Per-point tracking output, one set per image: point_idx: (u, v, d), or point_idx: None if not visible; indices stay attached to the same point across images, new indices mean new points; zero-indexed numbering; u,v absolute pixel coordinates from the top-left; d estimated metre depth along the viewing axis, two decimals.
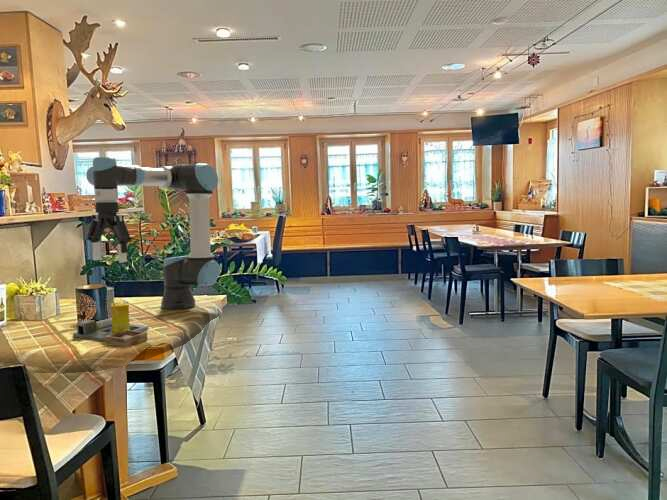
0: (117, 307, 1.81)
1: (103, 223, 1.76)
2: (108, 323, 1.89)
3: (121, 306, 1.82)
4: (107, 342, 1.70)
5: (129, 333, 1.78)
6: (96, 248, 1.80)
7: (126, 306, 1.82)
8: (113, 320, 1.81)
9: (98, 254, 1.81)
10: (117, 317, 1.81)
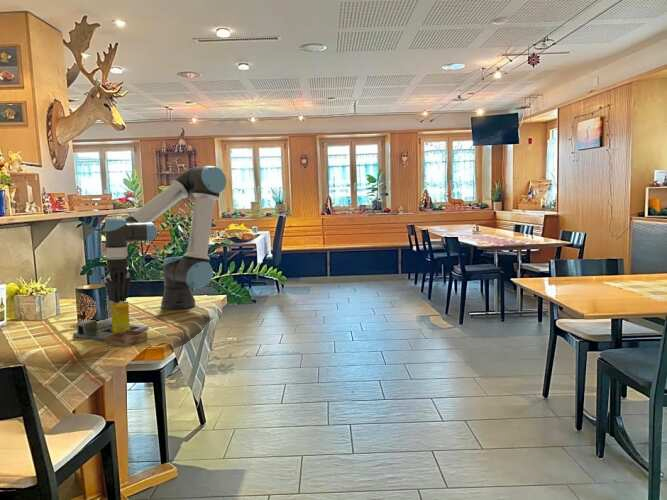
0: (117, 307, 1.81)
1: None
2: (106, 324, 1.88)
3: (121, 306, 1.82)
4: (107, 342, 1.70)
5: (129, 333, 1.78)
6: None
7: (126, 306, 1.82)
8: (113, 320, 1.81)
9: None
10: (117, 317, 1.81)
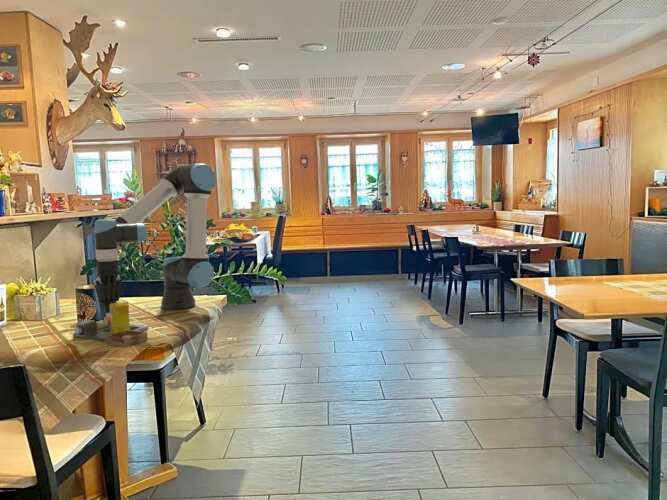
0: (117, 307, 1.81)
1: None
2: None
3: (121, 306, 1.82)
4: (107, 342, 1.70)
5: (129, 333, 1.78)
6: None
7: (126, 306, 1.82)
8: (113, 320, 1.81)
9: None
10: (117, 317, 1.81)
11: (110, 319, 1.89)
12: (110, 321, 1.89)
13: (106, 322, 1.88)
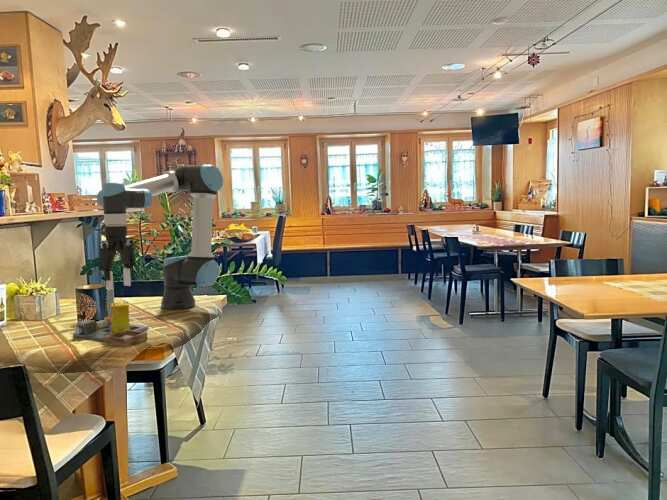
0: (117, 307, 1.81)
1: None
2: None
3: (121, 306, 1.82)
4: (107, 342, 1.70)
5: (129, 333, 1.78)
6: (125, 274, 1.86)
7: (126, 306, 1.82)
8: (113, 320, 1.81)
9: (126, 280, 1.86)
10: (117, 317, 1.81)
11: (110, 319, 1.89)
12: (110, 321, 1.89)
13: (106, 322, 1.88)
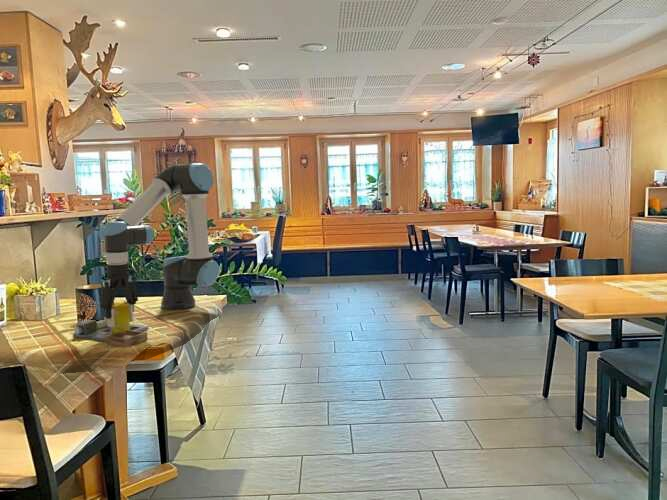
0: (117, 307, 1.81)
1: None
2: None
3: (121, 306, 1.82)
4: (107, 342, 1.70)
5: (129, 333, 1.78)
6: None
7: (126, 306, 1.82)
8: None
9: (129, 316, 1.88)
10: (117, 317, 1.81)
11: None
12: None
13: (106, 322, 1.88)
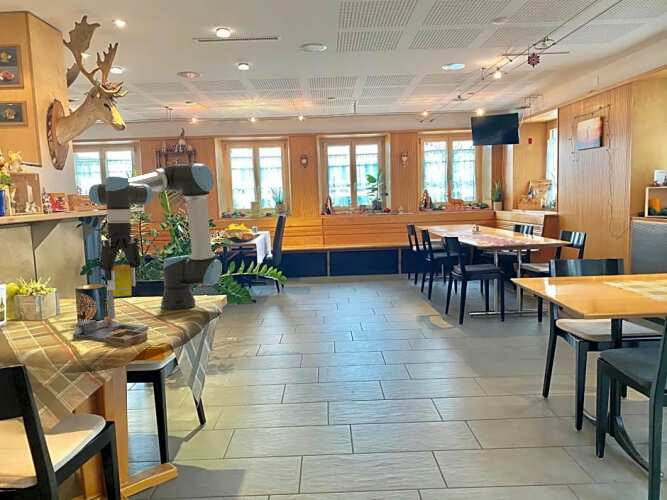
0: (118, 268, 1.69)
1: None
2: None
3: (122, 267, 1.69)
4: (107, 342, 1.70)
5: (129, 333, 1.78)
6: None
7: (128, 268, 1.70)
8: None
9: (131, 280, 1.75)
10: (117, 279, 1.69)
11: (110, 319, 1.89)
12: (110, 321, 1.89)
13: (106, 322, 1.88)
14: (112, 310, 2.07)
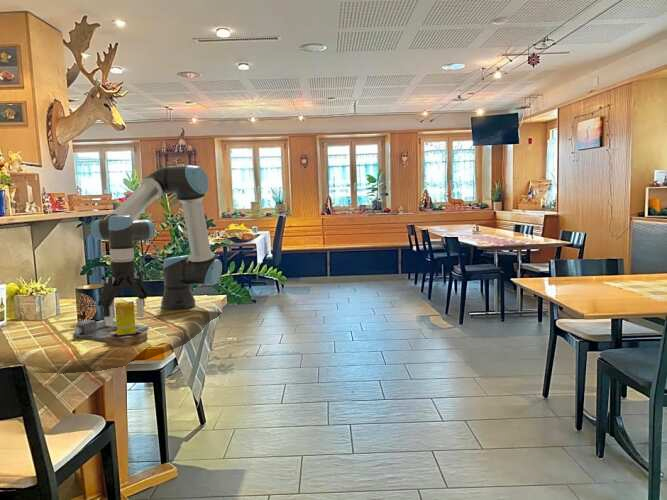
0: (122, 307, 1.69)
1: None
2: None
3: (126, 306, 1.70)
4: (107, 342, 1.70)
5: None
6: (138, 304, 1.78)
7: (132, 306, 1.70)
8: (118, 321, 1.69)
9: (140, 311, 1.78)
10: (122, 318, 1.69)
11: None
12: None
13: None
14: None
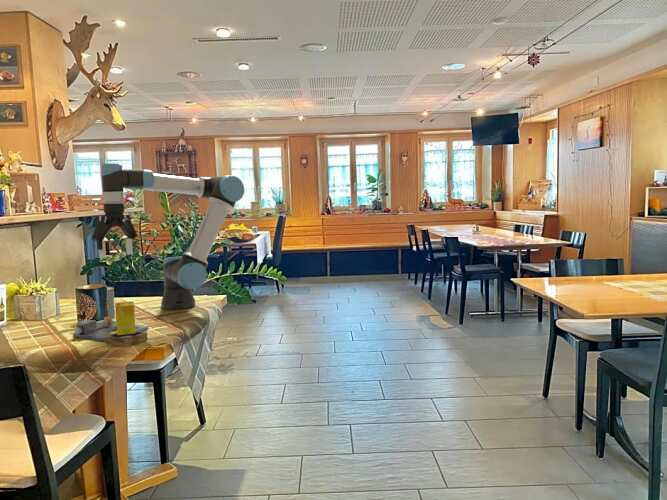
0: (122, 307, 1.69)
1: None
2: None
3: (126, 306, 1.70)
4: (107, 342, 1.70)
5: None
6: (127, 243, 2.04)
7: (132, 306, 1.70)
8: (118, 321, 1.69)
9: (129, 249, 2.04)
10: (122, 318, 1.69)
11: (110, 319, 1.89)
12: (110, 321, 1.89)
13: (106, 322, 1.88)
14: (112, 310, 2.07)
